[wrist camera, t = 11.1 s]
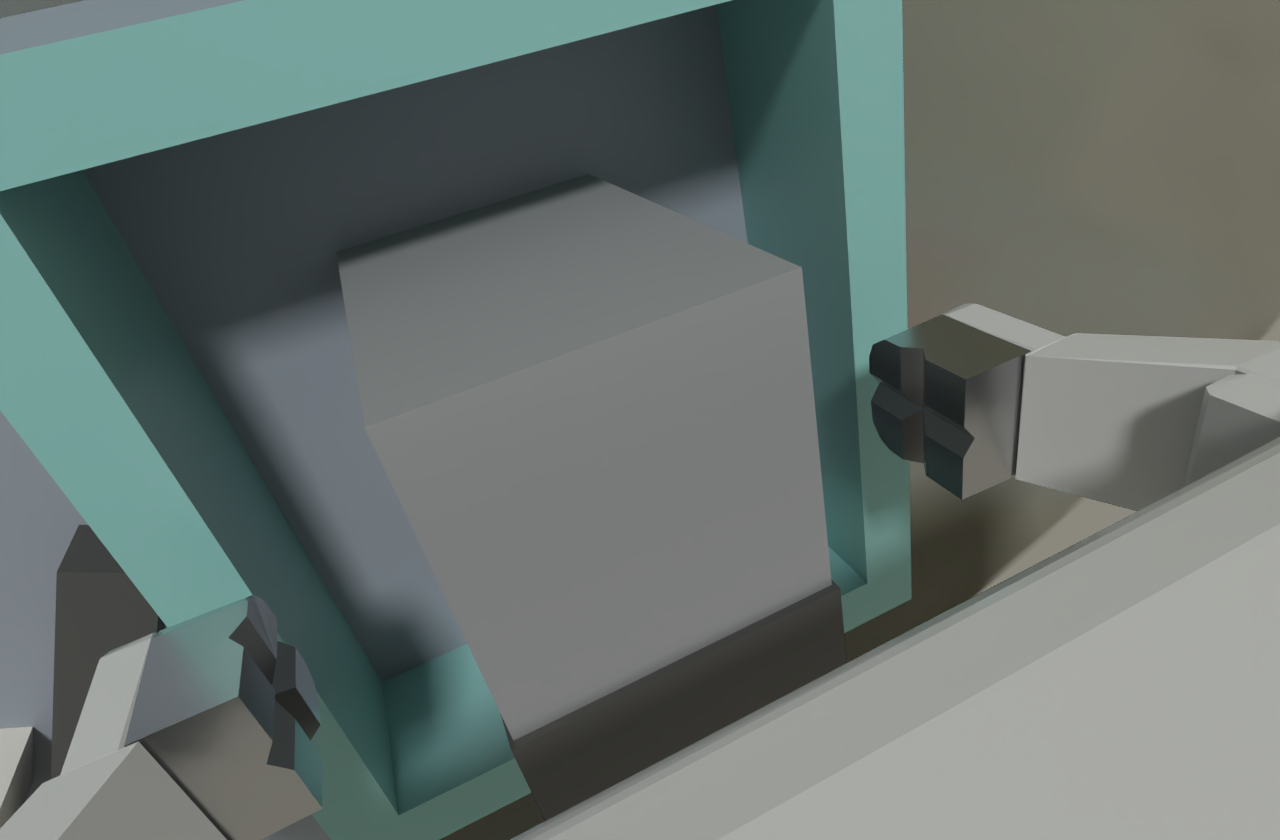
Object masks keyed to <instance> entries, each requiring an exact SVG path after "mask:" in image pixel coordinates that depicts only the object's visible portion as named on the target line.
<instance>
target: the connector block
mask: <svg viewBox="0 0 1280 840" xmlns="http://www.w3.org/2000/svg"><path fill="white" fill-rule="evenodd" d="M336 255H337V261H338V267H339V273H340V279H341V285H342V291H343V298H344V304H345V310H346V316H347V322H348V328H349V334H350V341H351V347H352V353H353V359H354V365H355V371H356V377H357V384H358V390H359V396H360V402H361V408H362V414H363V420H364V427H365V430H366V432H367V434H368V436H369V438H370V440H371V442H372V444H373V446H374V448H375V451H376V453H377V455H378V457H379V459H380V461H381V463H382V465H383V467H384V470H385V472H386V474H387V476H388V478H389V480H390V482H391V484H392V486H393V488H394V491H395V493H396V495H397V497H398V499H399V501H400V503H401V505H402V507H403V509H404V512H405V514H406V516H407V518H408V520H409V522H410V524H411V526H412V528H413V531H414V533H415V535H416V537H417V539H418V541H419V543H420V545H421V547H422V549H423V552H424V554H425V556H426V558H427V560H428V562H429V564H430V566H431V568H432V570H433V573H434V575H435V577H436V579H437V581H438V583H439V585H440V587H441V589H442V592H443V594H444V596H445V598H446V600H447V602H448V604H449V606H450V608H451V610H452V613H453V615H454V617H455V619H456V621H457V623H458V625H459V627H460V629H461V631H462V634H463V636H464V638H465V640H466V642H467V644H468V646H469V648H470V650H471V653H472V655H473V657H474V659H475V661H476V663H477V665H478V667H479V669H480V671H481V674H482V676H483V678H484V680H485V682H486V684H487V686H488V688H489V690H490V693H491V695H492V697H493V699H494V701H495V703H496V705H497V707H498V709H499V711H500V714H501V718H502V721H503V724H504V728H505V731H506V735H507V738H508V741H509V745H510V748H511V751H512V753H513V755H514V757H515V759H516V761H517V763H518V766H519V768H520V770H521V772H522V774H523V776H524V778H525V780H526V782H527V784H528V786H529V788H530V790H531V792H532V794H533V797H534V799H535V801H536V803H537V805H538V807H539V809H540V811H541V813H542V815H543V817H544V819H545V821H546V820H548V819H550V818H552V817H554V816H556V815H558V814H560V813H561V812H563V811H565V810H567V809H569V808H571V807H573V806H575V805H577V804H579V803H581V802H582V801H584V800H586V799H588V798H590V797H592V796H594V795H596V794H598V793H600V792H602V791H604V790H605V789H607V788H609V787H611V786H613V785H615V784H617V783H619V782H621V781H623V780H625V779H626V778H628V777H630V776H632V775H634V774H636V773H638V772H640V771H642V770H644V769H646V768H647V767H649V766H651V765H653V764H655V763H657V762H659V761H661V760H663V759H665V758H667V757H668V756H670V755H672V754H674V753H676V752H678V751H680V750H682V749H684V748H686V747H688V746H689V745H691V744H693V743H695V742H697V741H699V740H701V739H703V738H705V737H707V736H709V735H710V734H712V733H714V732H716V731H718V730H720V729H722V728H724V727H726V726H728V725H730V724H731V723H733V722H735V721H737V720H739V719H741V718H743V717H745V716H747V715H749V714H751V713H752V712H754V711H756V710H758V709H760V708H762V707H764V706H766V705H768V704H770V703H772V702H773V701H775V700H777V699H779V698H781V697H783V696H785V695H787V694H789V693H791V692H792V691H794V690H796V689H798V688H800V687H802V686H804V685H806V684H808V683H810V682H812V681H813V680H815V679H817V678H819V677H821V676H823V675H825V674H827V673H829V672H831V671H833V670H834V669H836V668H838V667H840V666H842V665H844V664H846V663H847V659H846V647H845V635H844V624H843V612H842V601H841V589H840V587H839V586H838V585H837V584H836V583H835V582H834V581H833V580H832V579H831V571H830V560H829V550H828V539H827V529H826V518H825V507H824V497H823V486H822V475H821V465H820V454H819V444H818V433H817V422H816V412H815V401H814V390H813V380H812V369H811V359H810V348H809V337H808V327H807V316H806V305H805V295H804V284H803V274H802V267H800V266H798V265H795V264H793V263H791V262H789V261H786V260H784V259H782V258H779V257H777V256H775V255H773V254H770V253H768V252H766V251H763V250H761V249H759V248H757V247H754V246H752V245H750V244H747V243H745V242H743V241H741V240H738V239H736V238H734V237H732V236H729V235H727V234H725V233H722V232H720V231H718V230H716V229H713V228H711V227H709V226H706V225H704V224H702V223H700V222H697V221H695V220H693V219H690V218H688V217H686V216H684V215H681V214H679V213H677V212H675V211H672V210H670V209H668V208H665V207H663V206H661V205H659V204H656V203H654V202H652V201H649V200H647V199H645V198H643V197H640V196H638V195H636V194H633V193H631V192H629V191H627V190H624V189H622V188H620V187H617V186H615V185H613V184H611V183H608V182H606V181H604V180H602V179H599V178H597V177H595V176H592V175H590V174H588V175H584V176H581V177H578V178H575V179H571V180H568V181H565V182H562V183H558V184H555V185H552V186H549V187H545V188H542V189H539V190H536V191H532V192H529V193H526V194H523V195H519V196H516V197H513V198H510V199H506V200H503V201H500V202H497V203H493V204H490V205H487V206H484V207H480V208H477V209H474V210H471V211H468V212H464V213H461V214H458V215H455V216H451V217H448V218H445V219H442V220H438V221H435V222H432V223H429V224H425V225H422V226H419V227H416V228H412V229H409V230H406V231H403V232H399V233H396V234H393V235H390V236H386V237H383V238H380V239H377V240H373V241H370V242H367V243H364V244H361V245H357V246H354V247H351V248H348V249H344V250H341V251H338V252H336Z"/></svg>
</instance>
